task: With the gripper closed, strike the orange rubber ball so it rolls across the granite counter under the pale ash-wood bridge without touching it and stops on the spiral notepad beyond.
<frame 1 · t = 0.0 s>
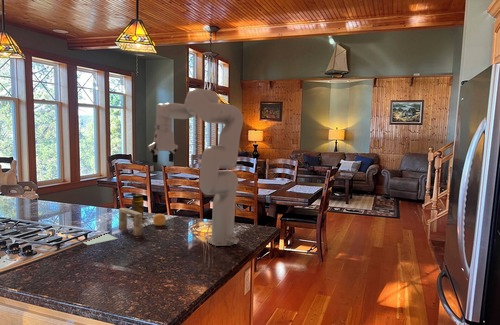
hand: (163, 162, 181), 31 cm above the kitchen island, tool pointing down, fingers open, 9 cm apart
ball: (159, 219, 177), on the kitchen island
condiment: (135, 217, 192), on the kitchen island
bridge: (130, 231, 165), on the kitchen island
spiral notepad: (96, 238, 153), on the kitchen island
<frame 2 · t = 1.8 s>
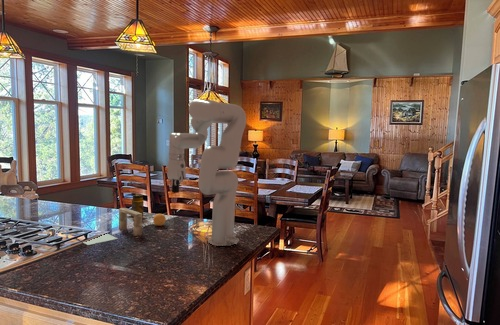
hand: (175, 192, 183), 16 cm above the kitchen island, tool pointing down, fingers closed
nothing on the kitchen island moved.
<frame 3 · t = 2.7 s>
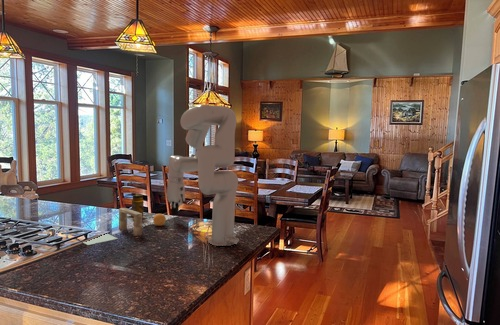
hand: (174, 214, 184), 4 cm above the kitchen island, tool pointing down, fingers closed
nothing on the kitchen island moved.
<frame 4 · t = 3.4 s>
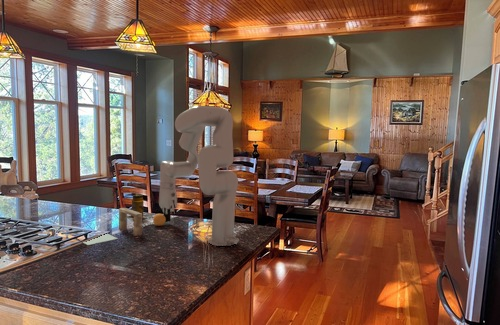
hand: (166, 221, 180), 1 cm above the kitchen island, tool pointing down, fingers closed
ball: (159, 219, 177), on the kitchen island, touching gripper
everything else where it was.
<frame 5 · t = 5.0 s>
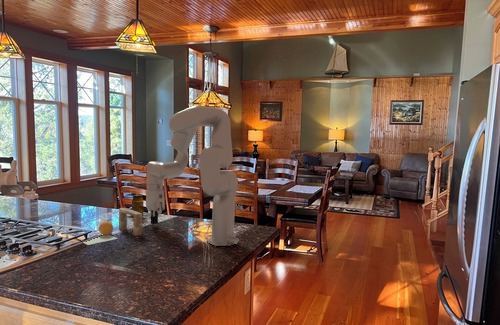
hand: (154, 223, 175), 2 cm above the kitchen island, tool pointing down, fingers closed
ball: (106, 228, 159), on the kitchen island
everything else where it was.
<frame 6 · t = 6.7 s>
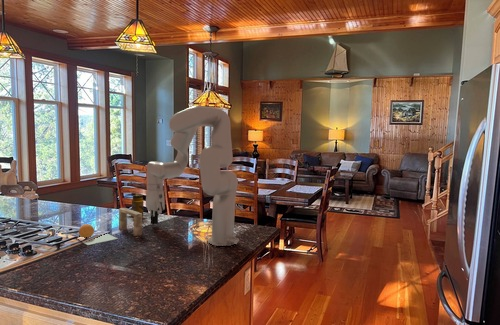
hand: (154, 223, 175), 2 cm above the kitchen island, tool pointing down, fingers closed
ball: (86, 231, 153), on the kitchen island
everything else where it was.
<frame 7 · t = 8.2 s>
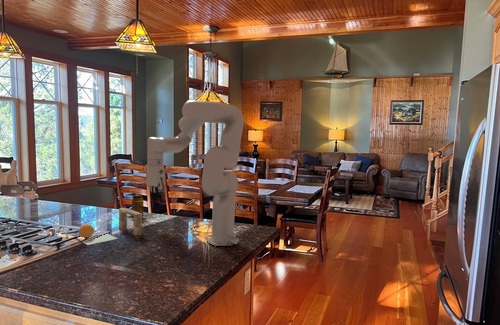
hand: (154, 199, 174), 13 cm above the kitchen island, tool pointing down, fingers closed
nothing on the kitchen island moved.
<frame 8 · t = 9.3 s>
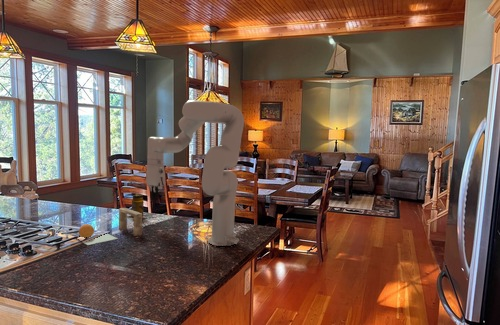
hand: (154, 199, 174), 13 cm above the kitchen island, tool pointing down, fingers closed
nothing on the kitchen island moved.
at the end: ball 4.1 cm from the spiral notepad (horizontally); ball never touched bridge; ball at rest at the end (0.0 cm/s) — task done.
